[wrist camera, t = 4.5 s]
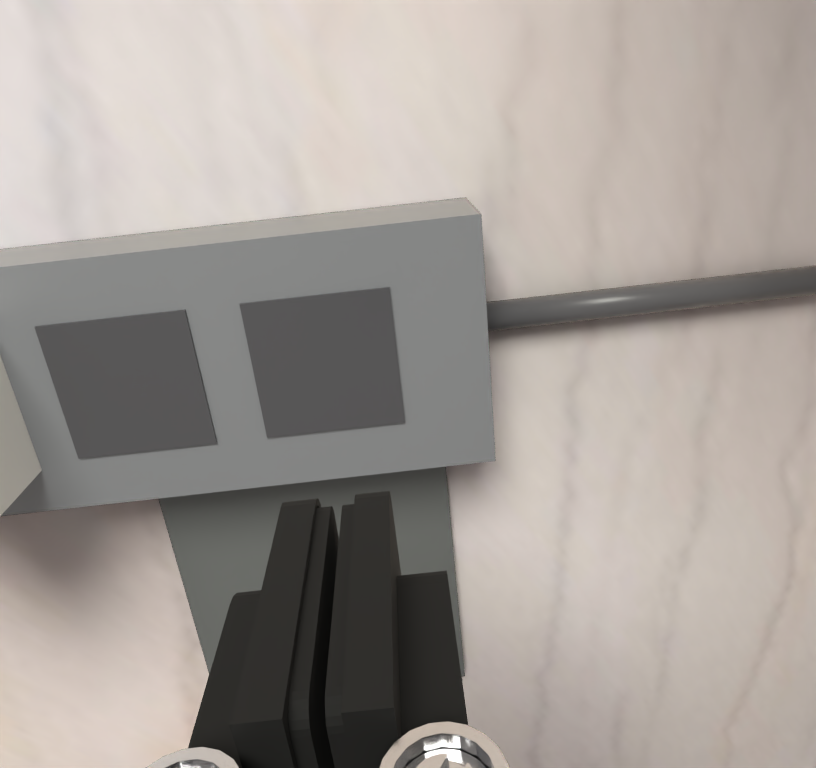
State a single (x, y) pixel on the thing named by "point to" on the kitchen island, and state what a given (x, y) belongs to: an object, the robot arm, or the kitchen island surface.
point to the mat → (255, 527)
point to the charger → (13, 447)
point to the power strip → (278, 350)
